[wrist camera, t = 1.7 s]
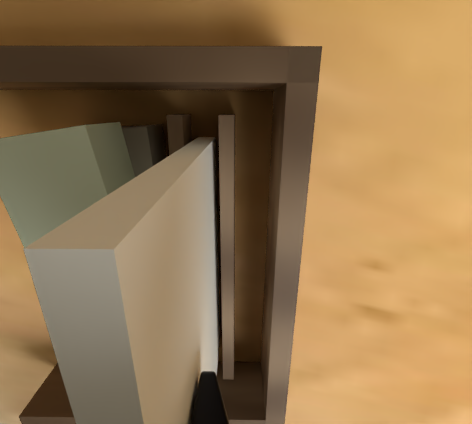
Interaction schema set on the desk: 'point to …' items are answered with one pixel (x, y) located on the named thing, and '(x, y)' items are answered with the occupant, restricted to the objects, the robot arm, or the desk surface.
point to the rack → (280, 186)
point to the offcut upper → (60, 174)
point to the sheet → (136, 293)
